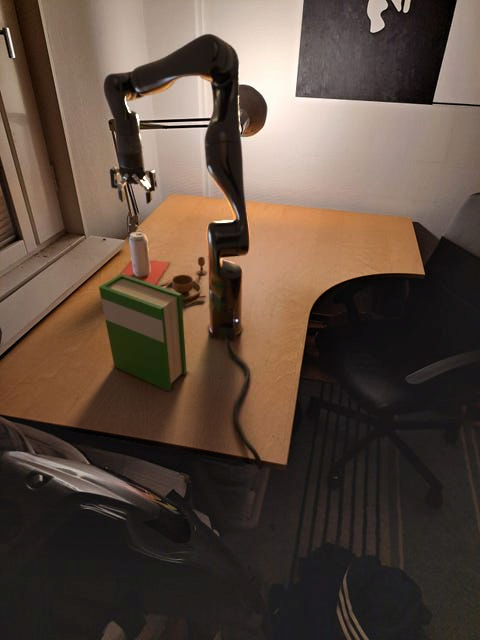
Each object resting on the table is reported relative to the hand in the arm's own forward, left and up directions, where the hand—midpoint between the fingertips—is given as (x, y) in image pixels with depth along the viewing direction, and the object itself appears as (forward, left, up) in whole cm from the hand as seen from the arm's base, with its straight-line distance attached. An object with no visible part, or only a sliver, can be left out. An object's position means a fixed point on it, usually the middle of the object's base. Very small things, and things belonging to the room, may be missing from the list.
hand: (136, 202), depth 136 cm
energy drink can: (-1, 0, -26) cm, 26 cm away
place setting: (-7, -20, -26) cm, 33 cm away
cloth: (-1, 0, -26) cm, 26 cm away
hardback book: (-49, -19, -26) cm, 59 cm away
